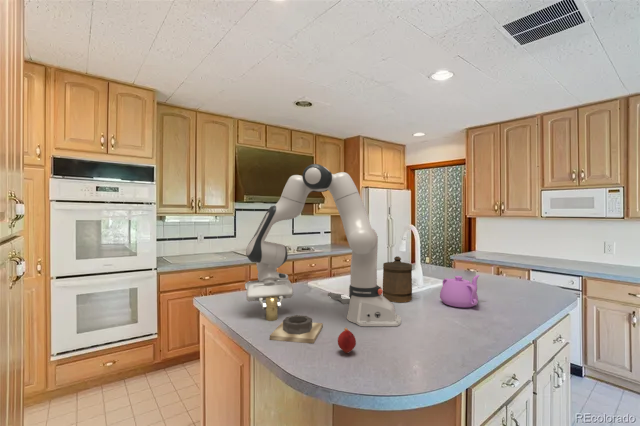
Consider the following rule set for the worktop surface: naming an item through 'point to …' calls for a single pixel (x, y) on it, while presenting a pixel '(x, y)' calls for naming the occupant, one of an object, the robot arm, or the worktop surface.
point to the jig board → (297, 330)
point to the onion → (346, 341)
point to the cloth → (339, 298)
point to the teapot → (459, 292)
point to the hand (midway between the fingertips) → (272, 307)
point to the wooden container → (397, 281)
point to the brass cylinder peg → (271, 308)
